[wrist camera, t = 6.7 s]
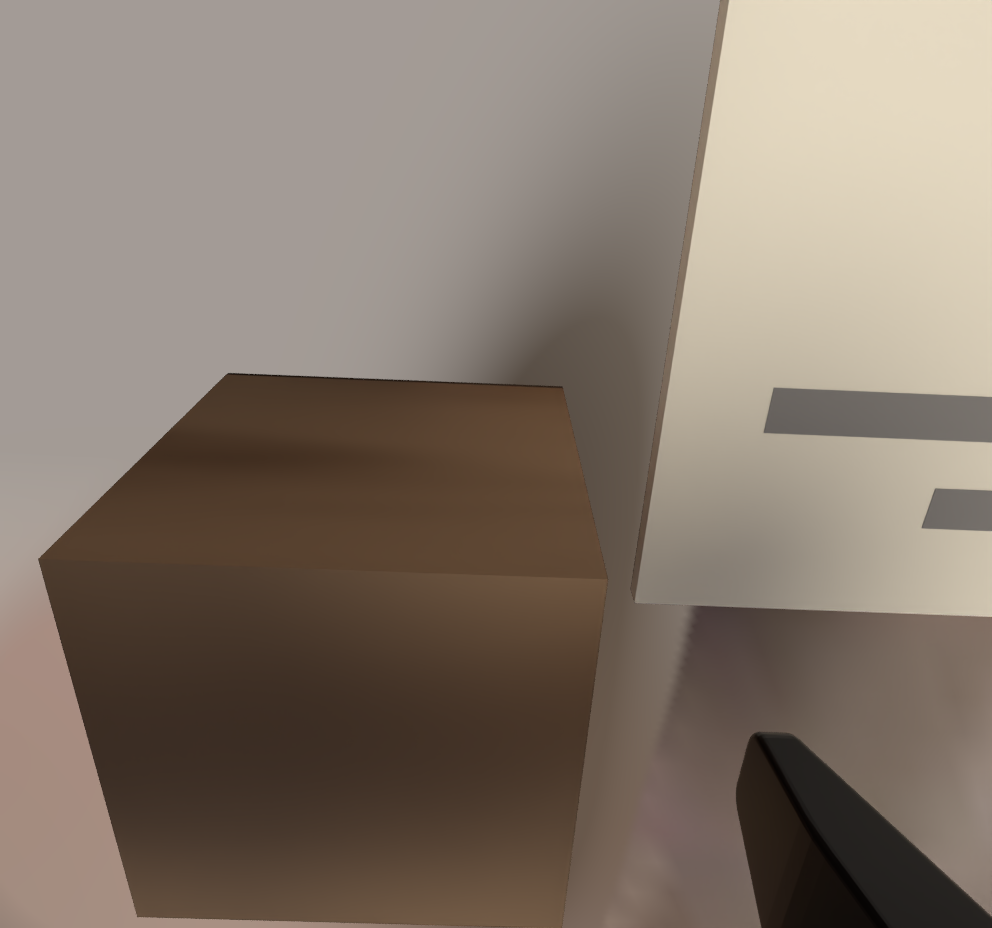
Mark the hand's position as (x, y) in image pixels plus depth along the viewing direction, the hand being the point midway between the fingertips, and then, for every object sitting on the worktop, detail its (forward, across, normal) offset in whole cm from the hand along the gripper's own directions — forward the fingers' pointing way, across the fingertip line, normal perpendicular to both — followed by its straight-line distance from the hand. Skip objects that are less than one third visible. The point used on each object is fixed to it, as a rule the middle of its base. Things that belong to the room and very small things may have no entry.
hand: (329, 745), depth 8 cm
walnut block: (+5, 0, 0) cm, 5 cm away
